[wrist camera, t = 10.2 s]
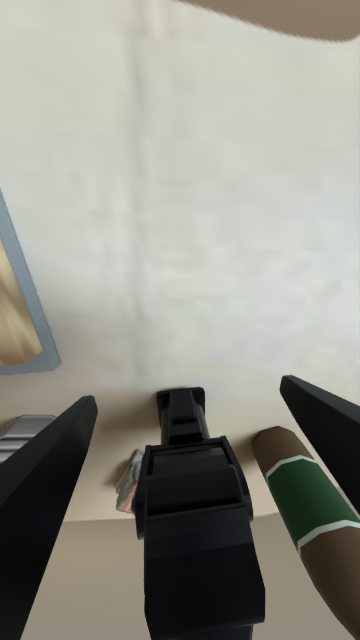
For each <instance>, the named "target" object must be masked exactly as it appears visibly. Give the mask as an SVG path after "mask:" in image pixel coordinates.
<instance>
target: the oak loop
mask: <svg viewBox="0 0 360 640" xmlns="http://www.w3.org/2000/svg"><path fill="white" fill-rule="evenodd" d="M41 351H43V349H42V347H41V344H40V341H39V339H38V336H37V334H36V331H35V328H34V326H33V323H32V321H31V318H30V315H29V313H28V310H27V308H26V305H25V302H24V300H23V297H22V295H21V292H20V289H19V287H18V284H17V281H16V279H15V276H14V274H13V271H12V268H11V266H10V263H9V261H8V258H7V255H6V253H5V250H4V248H3V245H2V242H1V240H0V366H6V365H17V364H26V363H27V362H28V361H30V360H31V359H32V358H34V357H35V356H36V355H38V354H39V353H40V352H41Z"/></svg>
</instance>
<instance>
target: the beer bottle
mask: <svg viewBox="0 0 360 640" xmlns="http://www.w3.org/2000/svg"><path fill="white" fill-rule="evenodd" d="M252 444H253V450H254V455H255V458H256V460H257V463H258V465H259V468H260V470H261V472H262V474H263V476H264V479H265V481H266V483H267V485H268V487H269V490H270V492H271V494H272V496H273V498H274V501H275V503H276V505H277V507H278V509H279V512H280V514H281V516H282V518H283V520H284V523H285V525H286V527H287V529H288V531H289V534H290V536H291V538H292V540H293V542H294V545H295V546H296V549H297V551H298V553H299V556H300V557H301V560H302V562H303V564H304V566H305V568H306V570H307V572H308V574H309V576H310V578H311V580H312V582H313V584H314V586H315V588H316V589H317V591H318V592H319V594H320V595H321V596H322V598H323V599H324V601H325V602H326V604H327V605H328V607H329V608H330V610H331V611H332V613H333V614H334V615H335V617H336V618H337V619H338V620H339V621H340V622H341V624H342V625H343V626H344V627H345V628H346V629H347V630H348V632H349V633H350V634H351V635H352V636H353V637H354V638H355V639H356V640H360V520H359V519H358V517H357V516H356V515H355V513H354V512H353V511H352V509H351V508H350V507H349V505H348V504H347V503H346V501H345V500H344V499H343V497H342V496H341V494H340V493H339V492H338V490H337V489H336V488H335V486H334V485H333V484H332V482H331V481H330V480H329V478H328V477H327V476H326V474H325V473H324V472H323V470H322V469H321V468H320V466H319V465H318V464H317V462H316V461H315V459H314V458H313V457H312V455H311V454H310V453H309V451H308V450H307V449H306V447H305V446H304V445H303V443H302V442H301V441H300V440H299V438H298V437H297V436H296V435H295V434H294V432H292V431H290V430H288V429H285V428H282V427H280V426H278V427H274V428H271V429H267V430H263V431H262V432H261V433H260V434H259V435H258V436H257V437H256V438H255V439H254V440H253V441H252Z"/></svg>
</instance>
